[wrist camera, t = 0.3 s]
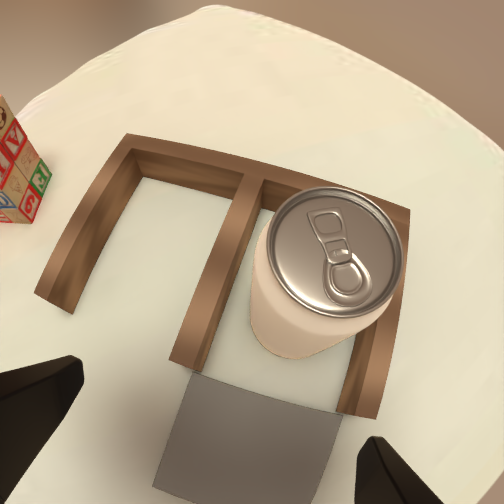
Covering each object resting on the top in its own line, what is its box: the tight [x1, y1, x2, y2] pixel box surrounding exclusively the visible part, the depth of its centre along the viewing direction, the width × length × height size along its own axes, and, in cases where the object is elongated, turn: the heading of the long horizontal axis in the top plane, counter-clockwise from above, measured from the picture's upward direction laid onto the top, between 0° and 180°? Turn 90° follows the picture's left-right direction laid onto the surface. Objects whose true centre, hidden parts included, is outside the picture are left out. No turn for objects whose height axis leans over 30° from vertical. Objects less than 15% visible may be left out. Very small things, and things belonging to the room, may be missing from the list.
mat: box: [152, 372, 343, 504], centre depth 18 cm, size 10×11×1 cm
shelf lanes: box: [34, 133, 410, 419], centre depth 22 cm, size 16×24×4 cm, turn 72°
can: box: [250, 186, 404, 359], centre depth 17 cm, size 6×6×12 cm
